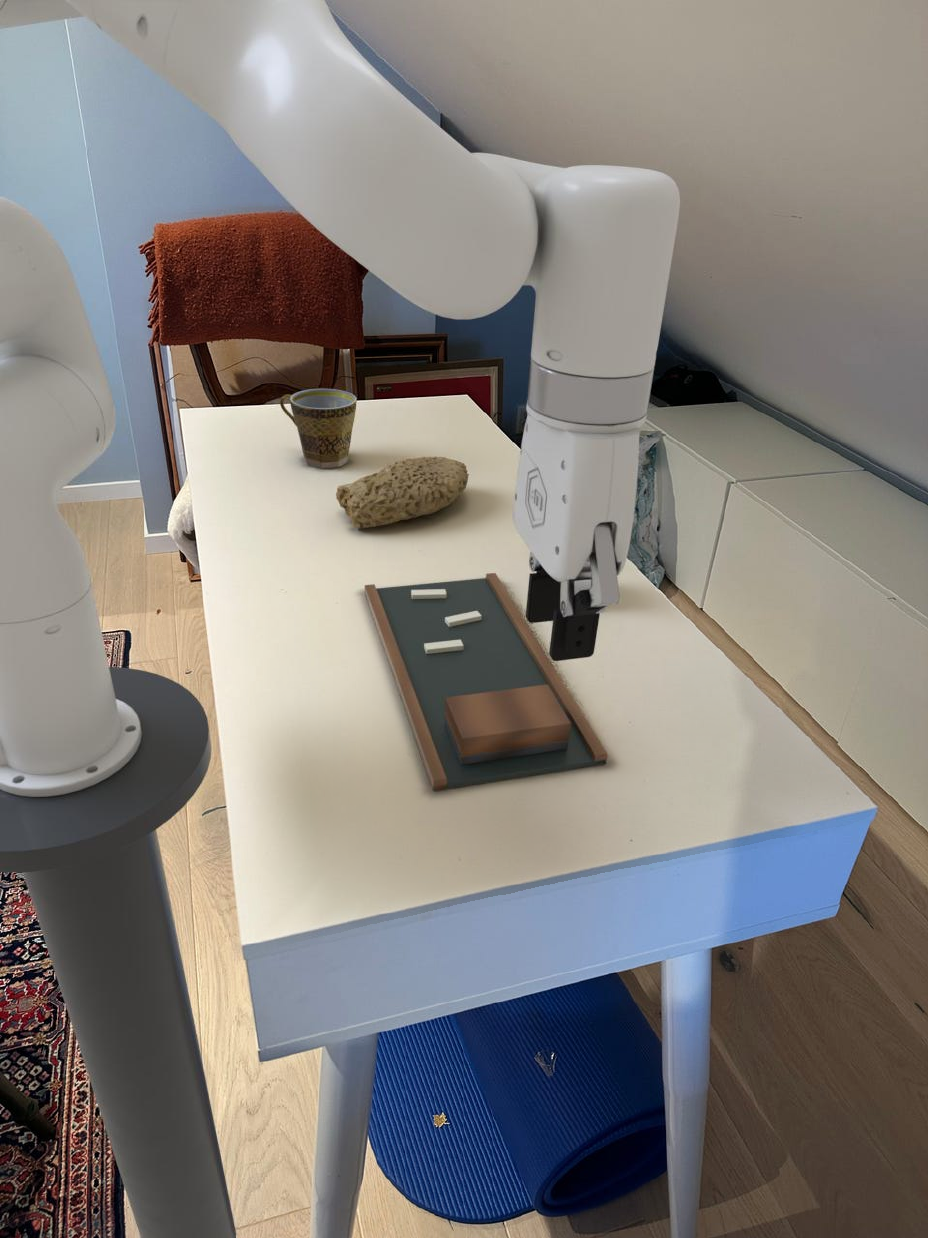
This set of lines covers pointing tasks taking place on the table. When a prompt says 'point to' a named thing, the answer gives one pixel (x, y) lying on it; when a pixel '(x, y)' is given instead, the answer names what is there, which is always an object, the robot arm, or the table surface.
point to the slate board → (470, 674)
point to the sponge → (403, 491)
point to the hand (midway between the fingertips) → (558, 635)
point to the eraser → (506, 724)
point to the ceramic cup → (323, 424)
